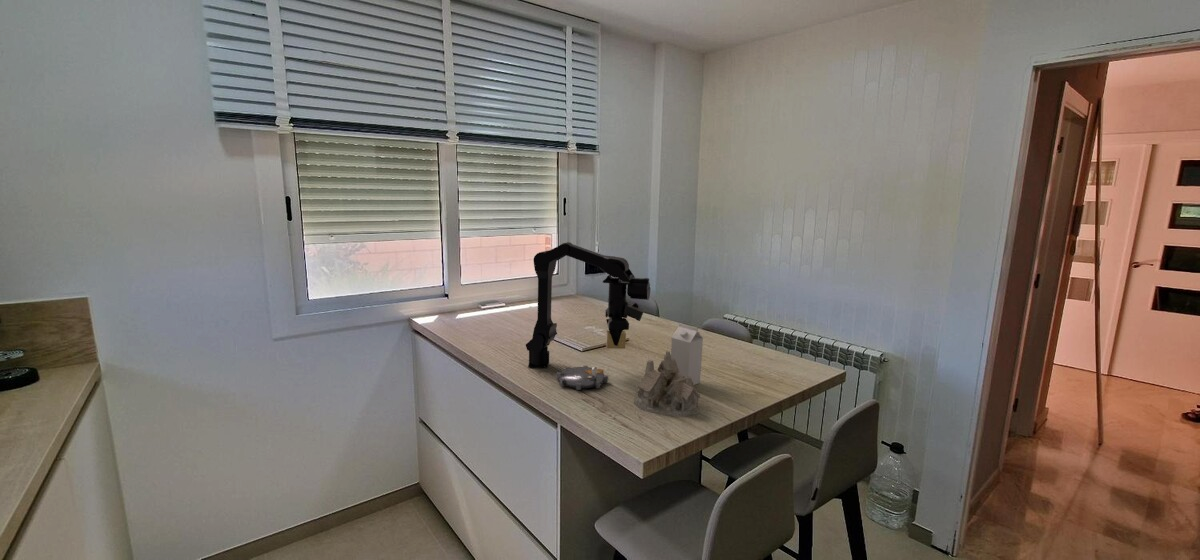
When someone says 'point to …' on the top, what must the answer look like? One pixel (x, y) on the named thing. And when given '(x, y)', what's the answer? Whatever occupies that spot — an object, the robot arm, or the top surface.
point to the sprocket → (582, 377)
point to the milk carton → (687, 351)
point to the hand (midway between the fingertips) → (615, 343)
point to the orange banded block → (620, 345)
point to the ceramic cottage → (666, 390)
